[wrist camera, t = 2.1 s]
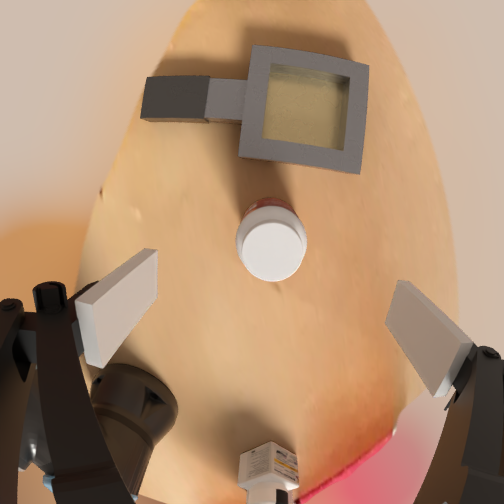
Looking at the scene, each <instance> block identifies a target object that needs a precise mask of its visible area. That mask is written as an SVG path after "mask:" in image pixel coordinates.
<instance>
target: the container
mask: <svg viewBox="0 0 504 504" xmlns="http://www.w3.org/2000/svg"><path fill="white" fill-rule="evenodd" d="M237 485H238V486H239V487H241V488H244V489H246V490H248V491H249V499H248V504H288V491H289V490H292V489H295V488H297V487H299V476H298V463H297V456H296V455H295V454H293V453H291V452H289V451H288V450H286V449H284V448H282V447H281V446H279V445H277V444H276V443H274V442H272V441H270V442H268V443H265V444H263V445H261V446H259V447H257V448H254V449H252V450H250V451H247V452H245V453H242V454H241V455H240V463H239V474H238V484H237Z"/></svg>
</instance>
